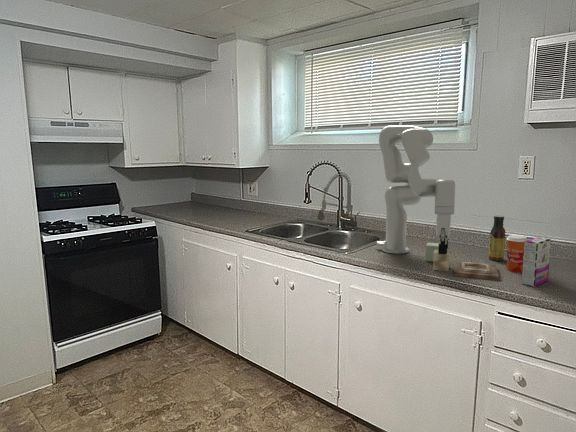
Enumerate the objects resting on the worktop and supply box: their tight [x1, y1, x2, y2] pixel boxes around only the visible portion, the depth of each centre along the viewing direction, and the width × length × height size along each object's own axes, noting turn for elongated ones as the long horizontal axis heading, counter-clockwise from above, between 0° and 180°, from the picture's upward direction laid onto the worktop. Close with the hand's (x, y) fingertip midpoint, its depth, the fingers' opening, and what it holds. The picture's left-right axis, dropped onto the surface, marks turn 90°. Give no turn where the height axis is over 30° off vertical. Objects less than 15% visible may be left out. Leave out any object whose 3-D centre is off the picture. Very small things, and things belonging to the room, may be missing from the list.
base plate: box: [452, 261, 500, 281], centre depth 168 cm, size 16×16×2 cm
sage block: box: [424, 242, 439, 262], centre depth 187 cm, size 6×6×7 cm
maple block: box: [432, 250, 451, 272], centre depth 173 cm, size 6×6×7 cm
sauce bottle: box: [488, 214, 507, 262], centre depth 185 cm, size 7×6×20 cm
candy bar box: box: [521, 236, 552, 287], centre depth 154 cm, size 11×5×16 cm, turn 126°
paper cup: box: [505, 234, 528, 273], centre depth 169 cm, size 8×8×14 cm
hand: (443, 251), depth 172 cm, fingers open, 9 cm apart
